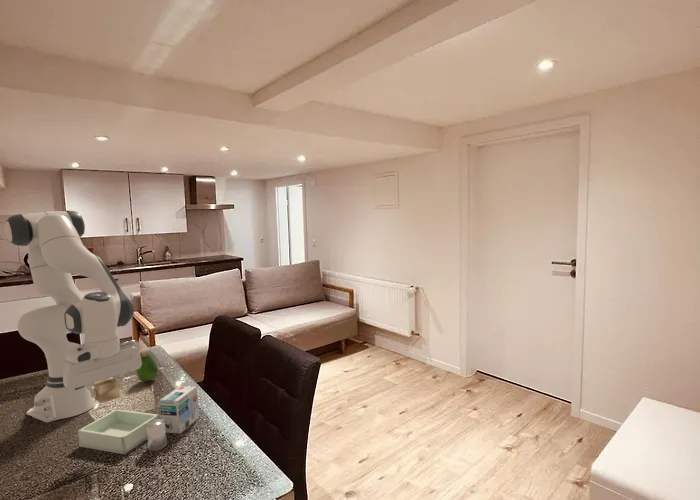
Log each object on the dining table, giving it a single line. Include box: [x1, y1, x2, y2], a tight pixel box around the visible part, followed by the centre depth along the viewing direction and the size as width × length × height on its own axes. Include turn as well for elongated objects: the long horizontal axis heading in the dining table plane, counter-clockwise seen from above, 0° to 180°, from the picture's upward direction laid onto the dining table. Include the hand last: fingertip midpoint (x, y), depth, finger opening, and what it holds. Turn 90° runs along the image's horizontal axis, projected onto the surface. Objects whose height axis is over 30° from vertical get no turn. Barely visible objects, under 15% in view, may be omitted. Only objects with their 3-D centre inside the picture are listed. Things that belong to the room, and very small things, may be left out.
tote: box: [77, 408, 161, 455], centre depth 124 cm, size 18×14×5 cm
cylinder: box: [146, 418, 168, 452], centre depth 118 cm, size 5×5×7 cm
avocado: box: [135, 353, 159, 383], centre depth 168 cm, size 8×8×12 cm
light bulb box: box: [159, 385, 200, 434], centre depth 130 cm, size 11×7×11 cm, turn 168°
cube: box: [93, 377, 120, 404], centre depth 119 cm, size 5×5×5 cm
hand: (106, 392), depth 120 cm, fingers closed on cube, 5 cm apart
